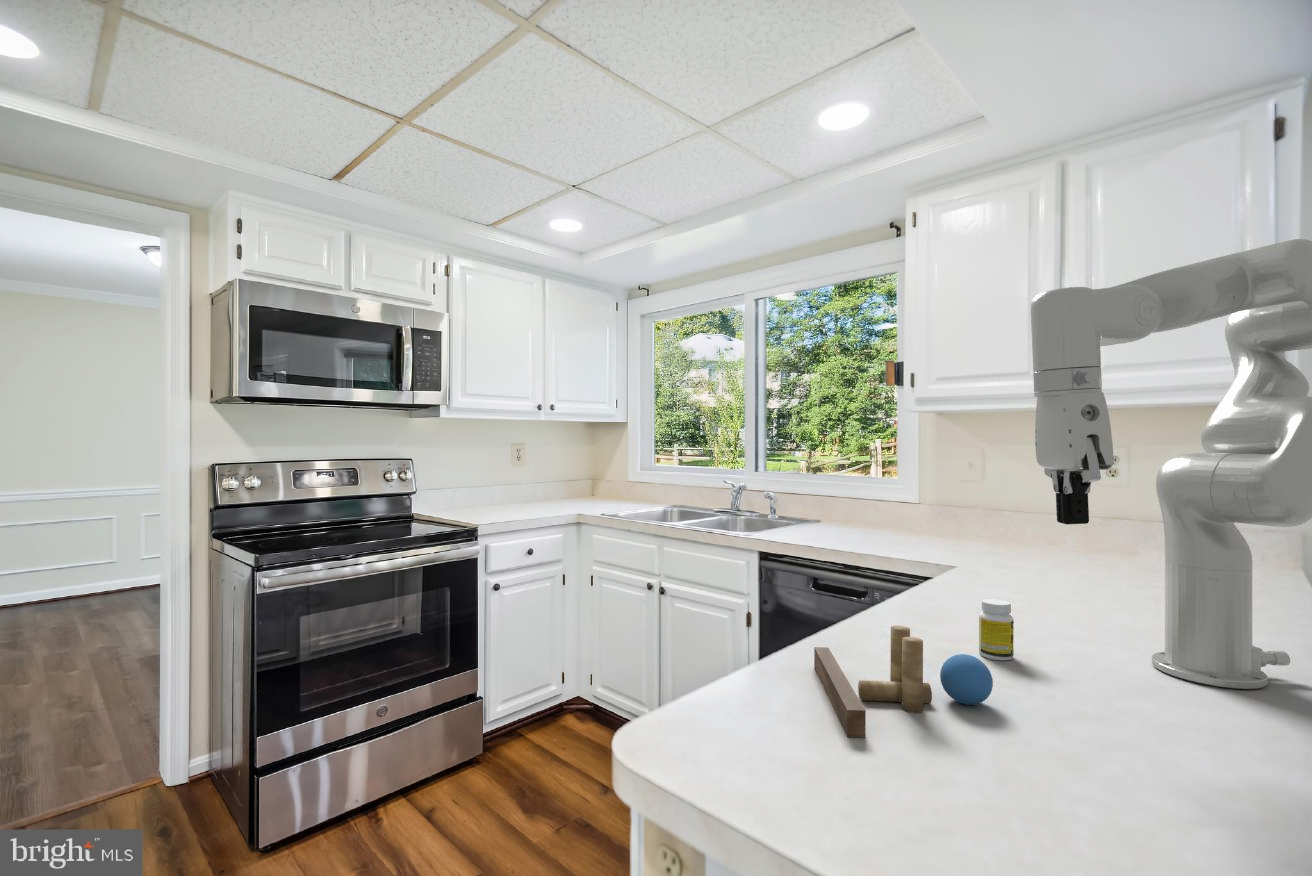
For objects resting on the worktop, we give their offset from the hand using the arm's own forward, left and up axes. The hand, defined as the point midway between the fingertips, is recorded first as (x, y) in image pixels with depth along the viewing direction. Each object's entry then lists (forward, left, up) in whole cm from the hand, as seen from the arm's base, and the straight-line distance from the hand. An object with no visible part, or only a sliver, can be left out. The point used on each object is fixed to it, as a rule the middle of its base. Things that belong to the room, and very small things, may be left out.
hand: (1072, 522), depth 84 cm
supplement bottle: (+3, -15, -23) cm, 27 cm away
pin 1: (+23, +2, -23) cm, 32 cm away
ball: (+15, +4, -20) cm, 25 cm away
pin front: (+20, +4, -21) cm, 30 cm away
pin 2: (+23, +7, -23) cm, 33 cm away
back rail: (+31, +4, -23) cm, 39 cm away
